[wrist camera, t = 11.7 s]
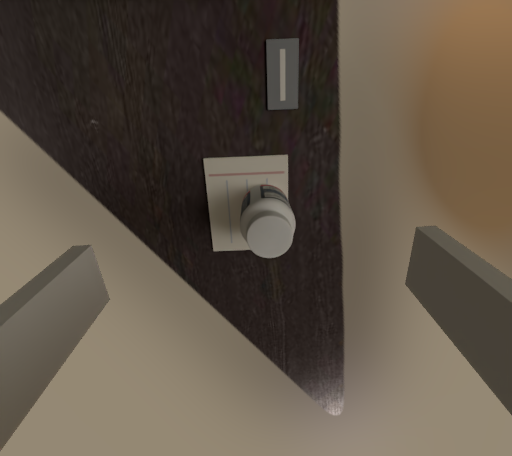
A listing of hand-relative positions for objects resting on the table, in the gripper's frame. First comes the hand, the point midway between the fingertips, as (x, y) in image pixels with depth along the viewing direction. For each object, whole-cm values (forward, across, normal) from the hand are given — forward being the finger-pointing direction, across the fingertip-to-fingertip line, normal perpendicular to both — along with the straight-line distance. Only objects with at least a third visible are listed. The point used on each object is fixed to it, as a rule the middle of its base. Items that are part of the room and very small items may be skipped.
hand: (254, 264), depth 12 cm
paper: (+21, -1, -5) cm, 21 cm away
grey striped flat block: (+21, +3, +8) cm, 23 cm away
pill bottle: (+20, +1, -5) cm, 21 cm away
